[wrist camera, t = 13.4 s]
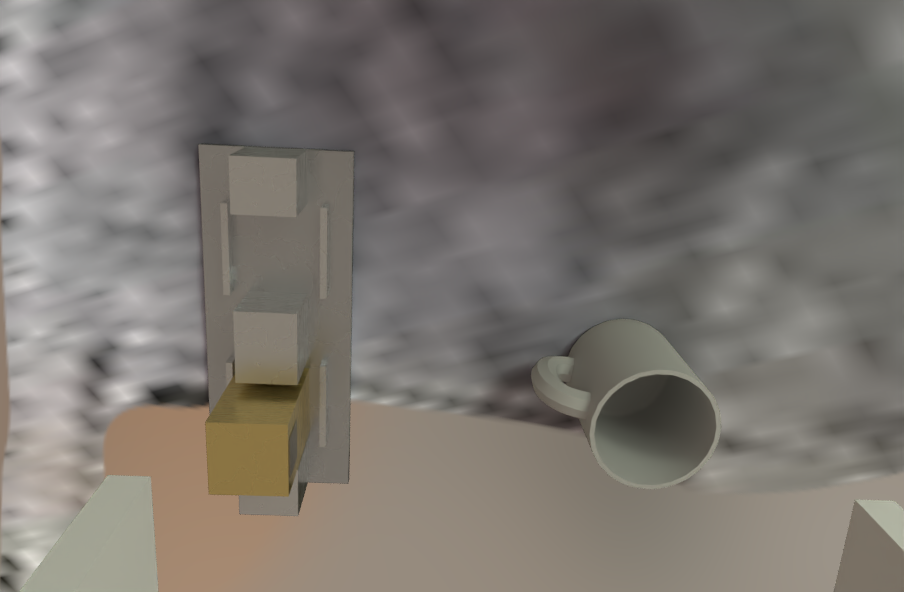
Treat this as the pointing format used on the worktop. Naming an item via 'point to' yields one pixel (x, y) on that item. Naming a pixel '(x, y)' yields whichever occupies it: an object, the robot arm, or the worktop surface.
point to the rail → (282, 290)
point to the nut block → (257, 438)
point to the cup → (633, 403)
